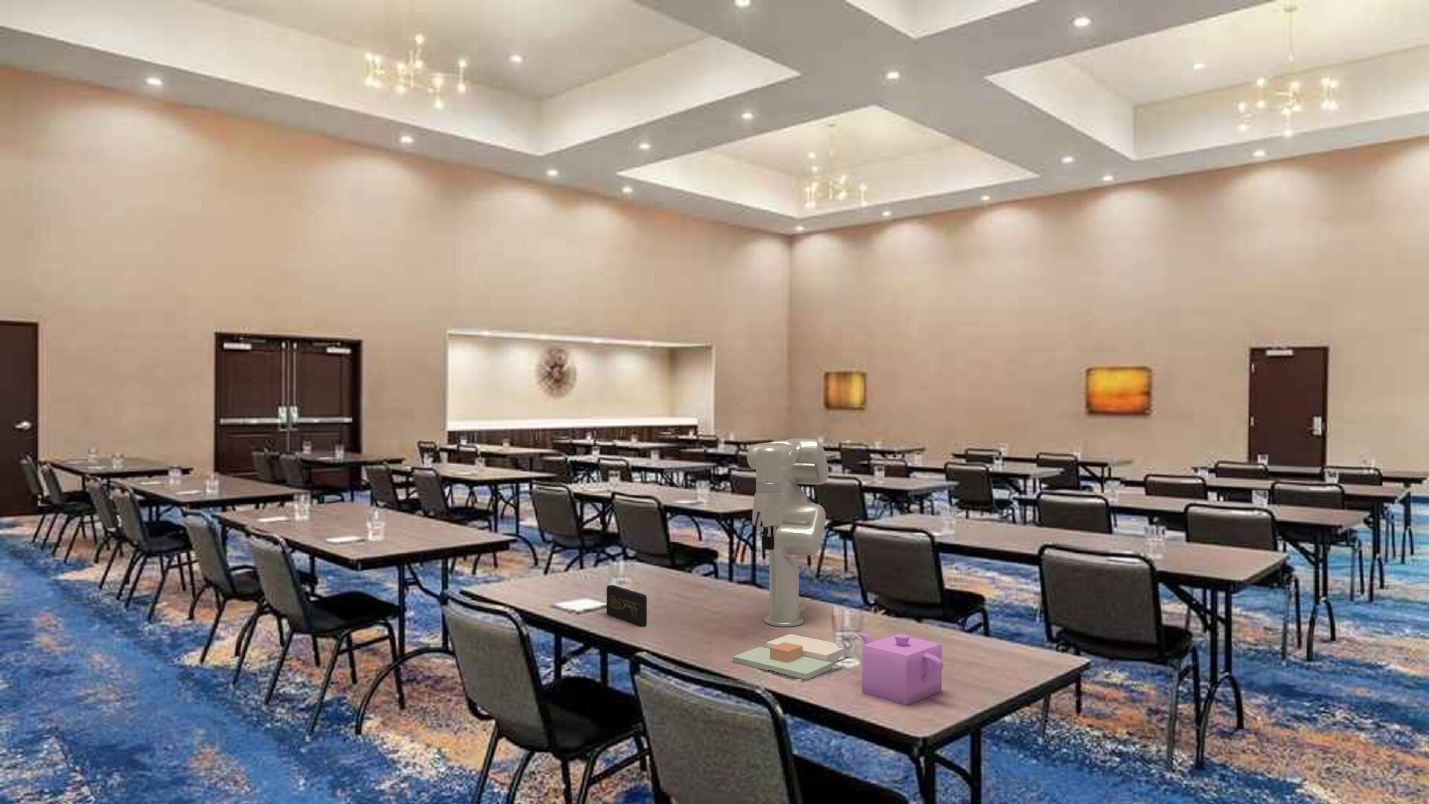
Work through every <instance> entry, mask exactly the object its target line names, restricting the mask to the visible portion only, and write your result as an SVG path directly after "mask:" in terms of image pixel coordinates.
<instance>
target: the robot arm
mask: <svg viewBox="0 0 1429 804" xmlns="http://www.w3.org/2000/svg"><path fill="white" fill-rule="evenodd" d="M746 460H747V464H748V466H749V467H750V468H751V469H753V470H756V471H755V473H756V474H755V475H756V477H755V479H756V480H755V481H756V482H755V483H756V484H755V493H754V498H753V505H752V516H751V517H752V518H751V519H752V520H751V521H752V525H753V526H754V527H756V532H760V535H761V536H762V550H765V551H766V550H767V552H768V560H769V561H768V562H769V564H768V565H769V566H768V567H769V574H768V575H769V577H768V578H769V580H768V581H769V582H768V583H769V589H768V590H769V592H768V594H769V596H768V598H769V601H768V602H769V604H768V605H769V606H768V607H769V610H768V612H769V615H766V616H765V617H764V621H763V622H765V624H767V625H770V626H775V627H795V626H799V625H800V626H801V625H802V624H803V623H804V618H803V616H800V614H801V613H803V612H805V611H806V607H805V606H804V605H800V606H799V602H800V601H799V598H800V597H799V595H800V594H799V593H800V591H799V590H800V589H799V587H800V576H799V575H800V568H799V565H798V563H797V561H796V560H795V558H794V557H793V556H794V555H795V556H815V555H817V554H818V553H819V552H820V548H821V546H822V541H823V540H822V539H823V536H824V531H825V527H826V511H825V508H824V507H823V506H822V505H820V504H818V503H808V497H807V494H806V493H805V492H804V491H803V489H802V488H801V487H800V486H798V485H824V484H825V483H826V482H827V481H828V479H829V474H830V472H829V471H830V470H829V465H828V462H827V457H826V451H825V449H824V447H823V444H822V442H820V440H818V439H817V438H789V439H788V438H787V439H784V440H780V441H779V440H778V441H772V442H760V443H757V444H756V443H755V444H752V445H751V446H750V448H749V449H748V451H747V454H746Z"/></svg>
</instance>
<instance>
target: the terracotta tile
mask: <svg viewBox="0 0 1429 804" xmlns="http://www.w3.org/2000/svg"><path fill="white" fill-rule="evenodd" d="M801 657H803V646H800V645H796V644H791V643H786V642H784V643H781V644H778V645H775V646H773V647H770V659H774V660H778V661H783V662H787V663H789V662H791V661H794V660H796V659H799V658H801Z"/></svg>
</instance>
